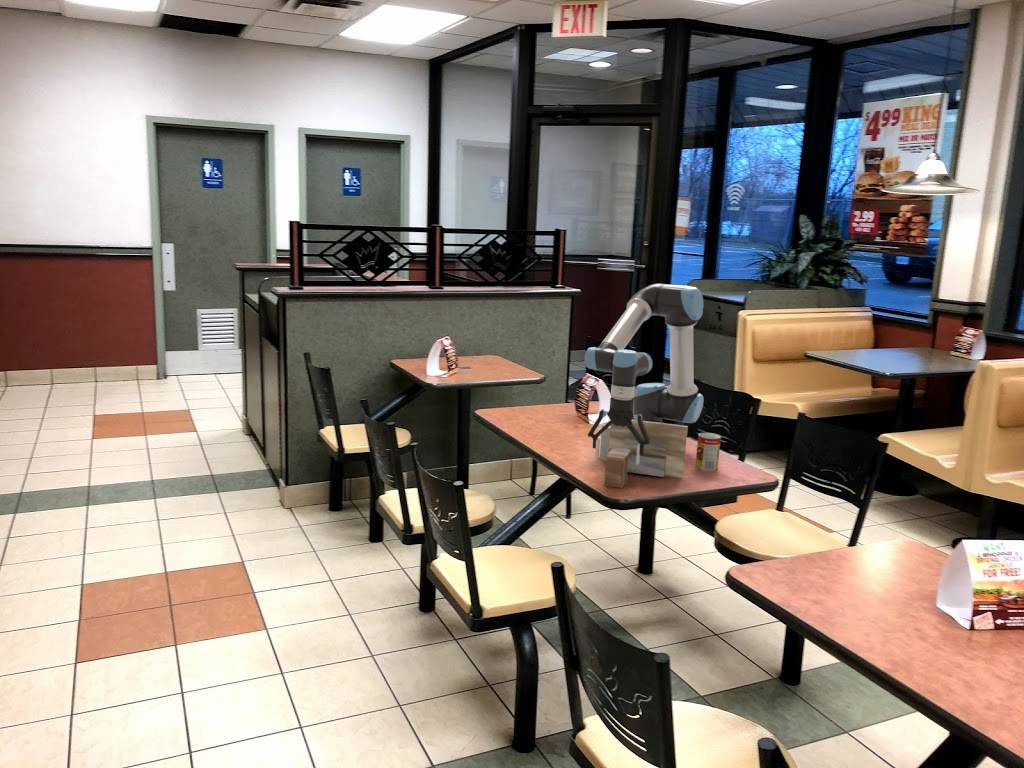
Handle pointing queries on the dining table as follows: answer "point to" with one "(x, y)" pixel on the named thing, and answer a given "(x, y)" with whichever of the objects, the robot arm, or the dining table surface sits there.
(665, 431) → the wall board
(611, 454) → the upright wooden block
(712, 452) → the canned food
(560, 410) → the dining table surface
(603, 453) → the grey-green block
